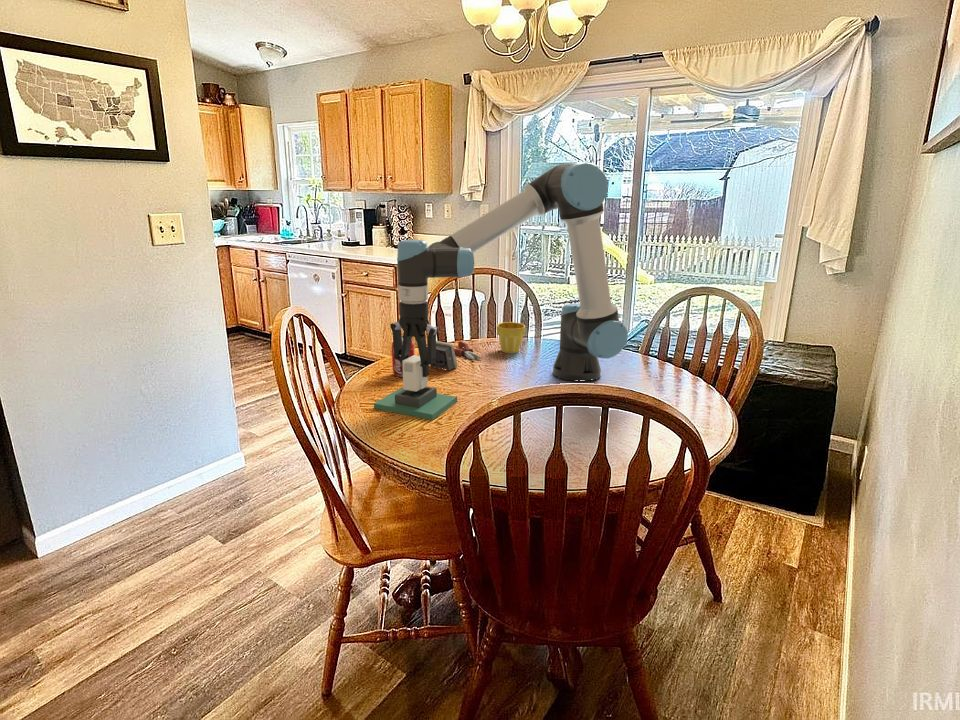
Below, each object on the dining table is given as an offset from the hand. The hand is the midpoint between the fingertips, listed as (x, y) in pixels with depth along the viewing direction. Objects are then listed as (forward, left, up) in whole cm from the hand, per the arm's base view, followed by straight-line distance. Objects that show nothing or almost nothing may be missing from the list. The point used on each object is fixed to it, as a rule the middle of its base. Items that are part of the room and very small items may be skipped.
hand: (415, 386), depth 148 cm
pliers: (+12, -49, -6) cm, 51 cm away
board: (0, 0, -6) cm, 6 cm away
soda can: (+17, -21, -6) cm, 28 cm away
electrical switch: (+9, -32, -6) cm, 34 cm away
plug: (0, 0, 0) cm, 0 cm away
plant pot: (-4, -61, -6) cm, 61 cm away
